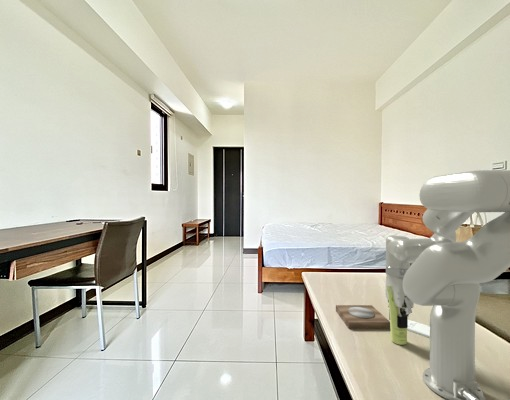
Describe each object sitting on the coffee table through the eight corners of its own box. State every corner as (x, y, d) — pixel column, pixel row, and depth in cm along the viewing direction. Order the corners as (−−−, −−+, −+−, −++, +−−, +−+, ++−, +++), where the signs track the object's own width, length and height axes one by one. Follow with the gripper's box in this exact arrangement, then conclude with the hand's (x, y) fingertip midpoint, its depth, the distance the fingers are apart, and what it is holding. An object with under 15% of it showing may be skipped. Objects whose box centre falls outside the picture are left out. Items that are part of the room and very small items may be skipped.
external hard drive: (436, 342, 91) (399, 328, 101) (443, 334, 96) (407, 322, 106) (436, 337, 91) (399, 324, 101) (443, 330, 96) (407, 318, 106)
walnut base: (390, 328, 100) (390, 320, 100) (348, 328, 100) (348, 320, 100) (371, 310, 116) (371, 304, 116) (335, 310, 116) (335, 304, 116)
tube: (402, 347, 87) (401, 289, 87) (387, 341, 91) (386, 285, 91) (409, 342, 90) (409, 285, 90) (394, 336, 94) (394, 282, 94)
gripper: (424, 279, 82) (424, 336, 82) (395, 265, 99) (395, 313, 99) (400, 279, 82) (400, 336, 82) (375, 265, 99) (376, 313, 99)
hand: (398, 323), depth 91 cm, fingers closed on tube, 4 cm apart
